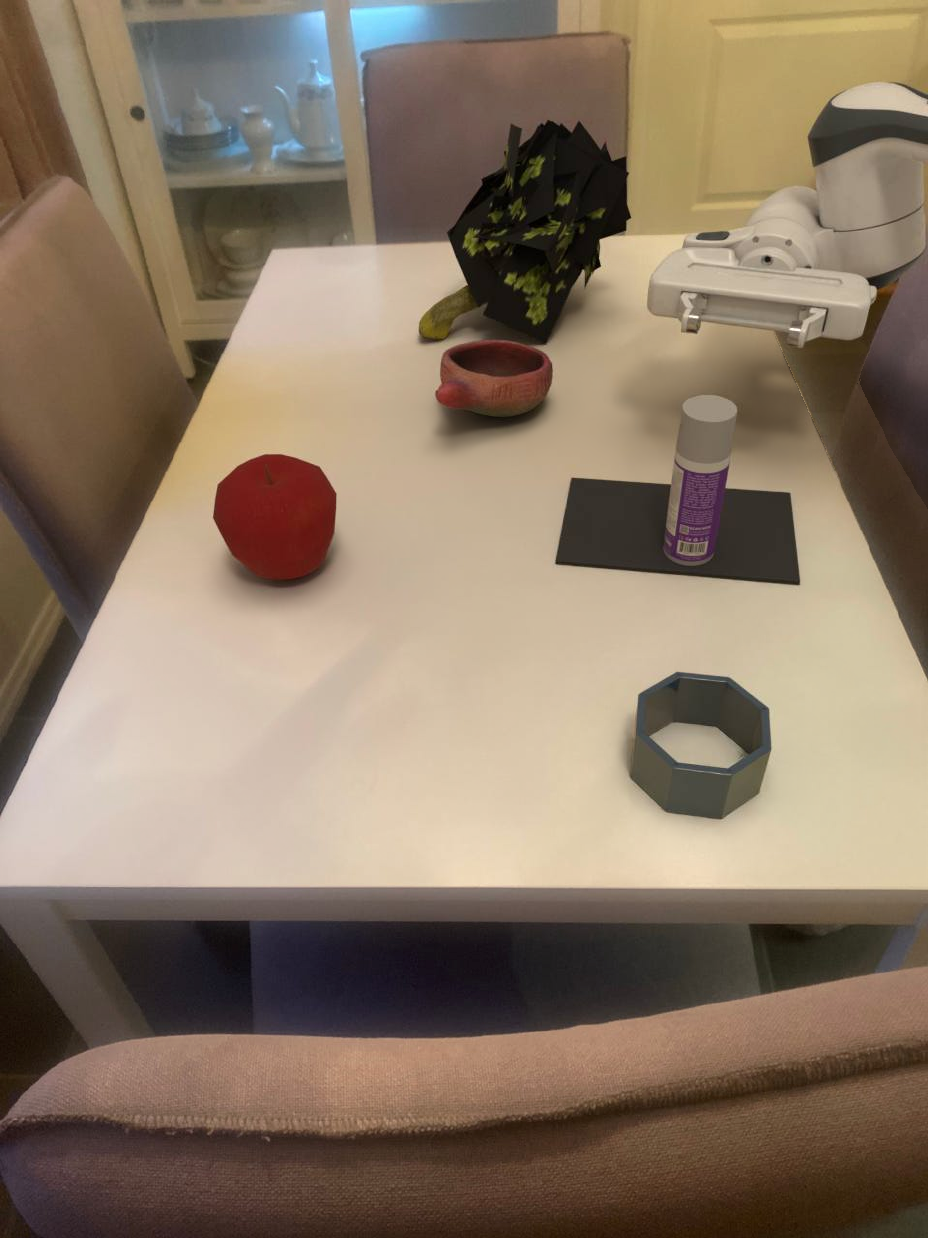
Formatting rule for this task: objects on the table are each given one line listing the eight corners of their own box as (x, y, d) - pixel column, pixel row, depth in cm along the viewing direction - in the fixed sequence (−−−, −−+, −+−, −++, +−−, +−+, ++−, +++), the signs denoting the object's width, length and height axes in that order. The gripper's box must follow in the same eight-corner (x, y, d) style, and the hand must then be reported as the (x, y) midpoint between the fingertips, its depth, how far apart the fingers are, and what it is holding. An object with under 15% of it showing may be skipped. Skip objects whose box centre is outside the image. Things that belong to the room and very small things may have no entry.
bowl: (448, 382, 113) (444, 320, 107) (552, 382, 112) (554, 319, 106) (434, 453, 101) (429, 388, 96) (551, 454, 100) (552, 388, 94)
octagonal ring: (755, 725, 70) (767, 680, 67) (760, 824, 64) (773, 780, 60) (635, 711, 72) (640, 667, 69) (627, 807, 65) (633, 763, 62)
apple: (225, 610, 83) (194, 505, 75) (237, 538, 91) (210, 437, 83) (346, 599, 84) (327, 493, 76) (347, 529, 91) (331, 427, 84)
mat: (789, 495, 92) (790, 492, 92) (799, 585, 82) (800, 581, 82) (571, 480, 96) (571, 477, 96) (555, 564, 86) (555, 560, 86)
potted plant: (459, 383, 115) (587, 153, 98) (371, 280, 125) (473, 53, 107) (566, 391, 130) (693, 193, 113) (480, 299, 140) (585, 103, 122)
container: (723, 548, 86) (749, 405, 76) (695, 572, 83) (718, 428, 73) (681, 529, 88) (701, 388, 78) (653, 552, 86) (669, 409, 76)
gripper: (870, 316, 90) (855, 381, 81) (665, 292, 97) (629, 349, 88) (887, 252, 86) (873, 313, 77) (671, 231, 92) (634, 284, 83)
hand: (741, 332), depth 82 cm, fingers open, 8 cm apart
